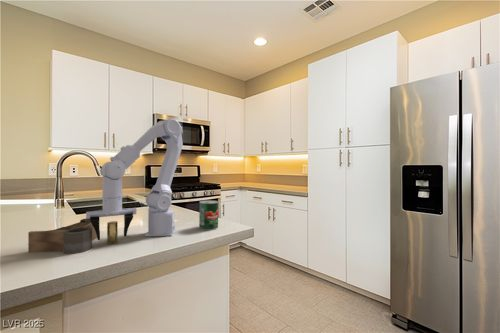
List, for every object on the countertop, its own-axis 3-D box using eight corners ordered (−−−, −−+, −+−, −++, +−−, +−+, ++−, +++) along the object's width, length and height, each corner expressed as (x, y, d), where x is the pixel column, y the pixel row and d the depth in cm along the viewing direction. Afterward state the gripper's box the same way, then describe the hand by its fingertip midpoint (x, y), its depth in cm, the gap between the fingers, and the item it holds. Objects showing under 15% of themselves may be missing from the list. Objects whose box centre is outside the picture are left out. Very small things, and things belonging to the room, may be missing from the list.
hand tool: (55, 242, 81) (55, 228, 81) (45, 241, 82) (45, 227, 82) (99, 227, 100) (100, 216, 100) (91, 227, 101) (91, 216, 101)
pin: (118, 241, 82) (118, 221, 82) (115, 244, 79) (115, 223, 79) (109, 241, 82) (109, 221, 82) (105, 244, 79) (105, 223, 79)
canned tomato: (205, 224, 106) (205, 199, 106) (221, 226, 103) (221, 200, 103) (195, 229, 99) (195, 202, 98) (212, 231, 96) (212, 203, 96)
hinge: (108, 236, 88) (108, 219, 88) (84, 253, 71) (84, 233, 71) (57, 237, 85) (57, 221, 85) (20, 256, 69) (20, 235, 69)
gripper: (134, 194, 88) (134, 231, 88) (87, 197, 80) (86, 237, 80) (137, 196, 82) (137, 236, 82) (85, 199, 74) (85, 243, 74)
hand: (112, 237), depth 81 cm, fingers open, 7 cm apart
